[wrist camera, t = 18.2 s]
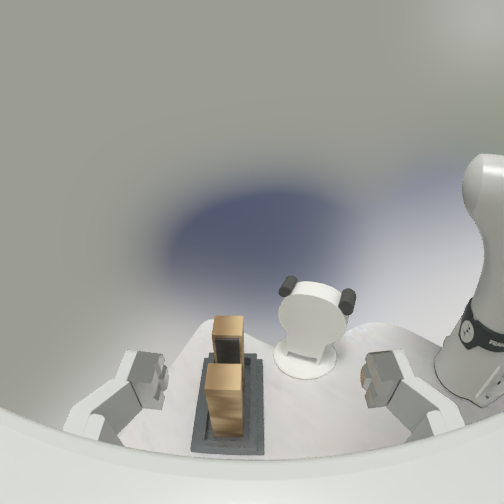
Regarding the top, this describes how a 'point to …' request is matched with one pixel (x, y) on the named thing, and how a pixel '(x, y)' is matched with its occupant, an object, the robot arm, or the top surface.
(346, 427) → the top surface
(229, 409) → the oak finger
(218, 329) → the block
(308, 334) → the panda figurine
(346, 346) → the top surface
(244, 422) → the dark grey tray
